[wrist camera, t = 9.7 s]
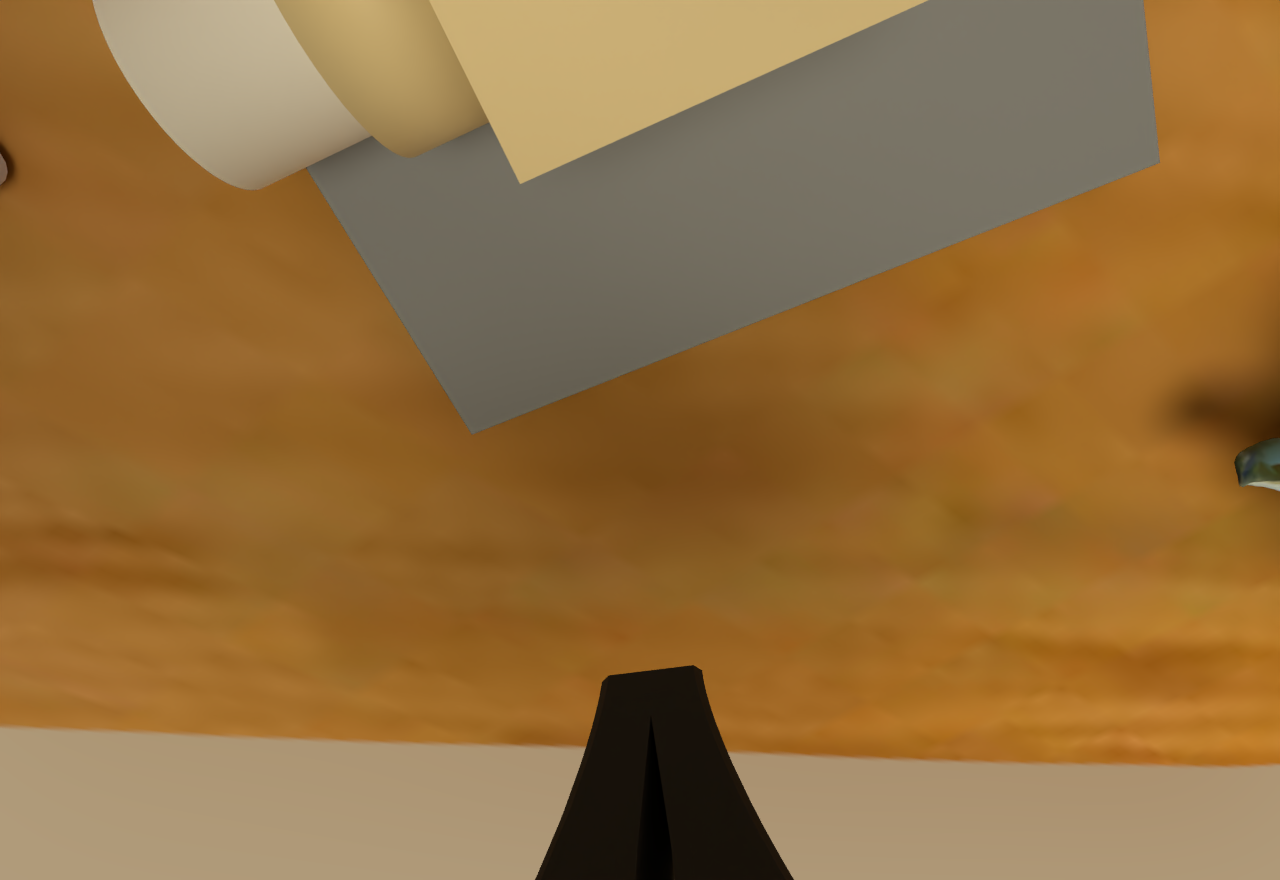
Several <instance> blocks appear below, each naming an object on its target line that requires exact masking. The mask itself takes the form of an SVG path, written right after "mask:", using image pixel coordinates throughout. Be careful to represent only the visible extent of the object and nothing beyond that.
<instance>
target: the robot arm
mask: <svg viewBox="0 0 1280 880" xmlns="http://www.w3.org/2000/svg"><path fill="white" fill-rule="evenodd" d="M7 173H8V171H7V166H6V162H5V160H4V159H3V157H2V155H1V154H0V185H1V184H2V183H3V182H4V181H5V180H6V177H7ZM535 880H794V879H793V877H792V876H791V874H790V873H789V871H788V869H787V867H786V866H785V864H784V862H783V860H782V859H781V857H780V855H779V853H778V852H777V850H776V848H775V846H774V844H773V843H772V841H771V839H770V837H769V835H768V834H767V832H766V830H765V829H764V827H763V825H762V823H761V821H760V819H759V817H758V815H757V813H756V811H755V809H754V807H753V806H752V803H751V801H750V800H749V797H748V795H747V793H746V791H745V789H744V787H743V785H742V783H741V781H740V778H739V776H738V774H737V772H736V770H735V768H734V766H733V764H732V762H731V759H730V757H729V755H728V752H727V750H726V748H725V745H724V743H723V740H722V738H721V735H720V732H719V730H718V727H717V725H716V722H715V719H714V716H713V713H712V710H711V707H710V704H709V701H708V697H707V693H706V689H705V685H704V681H703V674H702V670H700V669H699V668H697V667H695V666H694V665H692V666H683V667H675V668H667V669H659V670H651V671H642V672H634V673H626V674H618V675H610V676H608V677H607V678H606V679H605V680H604V681H603V682H602V686H601V691H600V697H599V702H598V706H597V710H596V714H595V718H594V722H593V726H592V729H591V733H590V736H589V739H588V743H587V746H586V749H585V752H584V756H583V759H582V762H581V765H580V768H579V771H578V773H577V776H576V779H575V782H574V785H573V787H572V790H571V793H570V796H569V799H568V801H567V804H566V807H565V810H564V813H563V815H562V817H561V820H560V823H559V825H558V827H557V830H556V832H555V834H554V837H553V839H552V842H551V844H550V847H549V849H548V851H547V854H546V856H545V858H544V860H543V863H542V865H541V867H540V870H539V872H538V875H537V877H536V879H535Z"/></svg>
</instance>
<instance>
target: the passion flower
mask: <svg viewBox="0 0 1280 880" xmlns="http://www.w3.org/2000/svg"><path fill="white" fill-rule="evenodd" d="M1234 463H1235V468H1236V472H1237V475H1238V482H1239V485H1240V486H1242V487H1244V486H1246V485H1252V486H1263V487H1267V488H1271V489H1275V490H1277V491H1280V438H1272V439H1269V440H1265V441H1262V442H1259V443H1257V444H1255V445H1253V446H1251V447H1248V448H1246V449H1245V450H1243V451H1241V452H1240V453H1239V454H1238V455H1237V457H1236V459H1235V462H1234Z"/></svg>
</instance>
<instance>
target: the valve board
mask: <svg viewBox="0 0 1280 880" xmlns="http://www.w3.org/2000/svg"><path fill="white" fill-rule="evenodd" d="M93 5H94V9H95V13H96V16H97V19H98V22H99V25H100V27H101V30H102V32H103V35H104V37H105V39H106V42H107V44H108V46H109V48H110V50H111V52H112V54H113V56H114V58H115V60H116V62H117V64H118V66H119V67H120V69H121V71H122V72H123V74H124V76H125V78H126V79H127V81H128V82H129V84H130V86H131V87H132V89H133V90H134V92H135V93H136V95H137V96H138V98H139V99H140V100H141V102H142V103H143V104H144V106H145V107H146V109H147V110H148V111H149V113H150V114H151V115H152V116H153V118H154V119H155V120H156V121H157V122H158V124H159V125H160V126H161V127H162V129H163V130H164V131H165V132H166V133H167V134H168V135H169V136H170V137H171V138H172V140H173V141H174V142H175V143H176V144H177V145H178V146H179V147H180V148H181V149H182V150H183V151H184V152H185V153H187V154H188V155H189V156H190V157H191V158H192V159H193V160H194V161H196V162H197V163H198V164H199V165H200V166H202V167H203V168H204V169H206V170H207V171H208V172H210V173H211V174H213V175H214V176H216V177H217V178H219V179H221V180H222V181H224V182H226V183H228V184H230V185H233V186H235V187H238V188H241V189H245V190H258V189H262V188H264V187H266V186H268V185H270V184H272V183H274V182H276V181H278V180H281V179H283V178H285V177H287V176H289V175H291V174H293V173H295V172H297V171H299V170H301V169H304V168H306V169H307V170H308V172H309V173H310V175H311V177H312V178H313V180H314V181H315V183H316V185H317V186H318V188H319V189H320V191H321V193H322V194H323V196H324V197H325V199H326V201H327V202H328V204H329V206H330V207H331V209H332V210H333V212H334V214H335V215H336V217H337V218H338V220H339V222H340V223H341V225H342V226H343V228H344V230H345V231H346V233H347V234H348V236H349V238H350V239H351V241H352V243H353V244H354V246H355V247H356V249H357V251H358V252H359V254H360V255H361V257H362V259H363V260H364V262H365V263H366V265H367V267H368V268H369V270H370V271H371V273H372V275H373V276H374V278H375V280H376V281H377V283H378V284H379V286H380V288H381V289H382V291H383V292H384V294H385V296H386V297H387V299H388V300H389V302H390V304H391V305H392V307H393V308H394V310H395V312H396V313H397V315H398V317H399V318H400V320H401V321H402V323H403V325H404V326H405V328H406V329H407V331H408V333H409V334H410V336H411V337H412V339H413V341H414V342H415V344H416V346H417V347H418V349H419V350H420V352H421V354H422V355H423V357H424V358H425V360H426V362H427V363H428V365H429V366H430V368H431V370H432V371H433V373H434V374H435V376H436V378H437V379H438V381H439V383H440V384H441V386H442V387H443V389H444V391H445V392H446V394H447V395H448V397H449V399H450V400H451V402H452V403H453V405H454V407H455V408H456V410H457V411H458V413H459V415H460V416H461V418H462V420H463V421H464V423H465V424H466V426H467V428H468V429H469V431H470V432H471V434H475V433H477V432H480V431H482V430H485V429H487V428H490V427H492V426H495V425H497V424H500V423H502V422H505V421H507V420H510V419H513V418H515V417H518V416H520V415H523V414H525V413H528V412H530V411H533V410H535V409H538V408H540V407H543V406H545V405H548V404H551V403H553V402H556V401H558V400H561V399H563V398H566V397H568V396H571V395H573V394H576V393H578V392H581V391H583V390H586V389H588V388H591V387H594V386H596V385H599V384H601V383H604V382H606V381H609V380H611V379H614V378H616V377H619V376H621V375H624V374H626V373H629V372H631V371H634V370H637V369H639V368H642V367H644V366H647V365H649V364H652V363H654V362H657V361H659V360H662V359H664V358H667V357H669V356H672V355H674V354H677V353H680V352H682V351H685V350H687V349H690V348H692V347H695V346H697V345H700V344H702V343H705V342H707V341H710V340H712V339H715V338H718V337H720V336H723V335H725V334H728V333H730V332H733V331H735V330H738V329H740V328H743V327H745V326H748V325H750V324H753V323H755V322H758V321H761V320H763V319H766V318H768V317H771V316H773V315H776V314H778V313H781V312H783V311H786V310H788V309H791V308H793V307H796V306H798V305H801V304H804V303H806V302H809V301H811V300H814V299H816V298H819V297H821V296H824V295H826V294H829V293H831V292H834V291H836V290H839V289H841V288H844V287H847V286H849V285H852V284H854V283H857V282H859V281H862V280H864V279H867V278H869V277H872V276H874V275H877V274H879V273H882V272H885V271H887V270H890V269H892V268H895V267H897V266H900V265H902V264H905V263H907V262H910V261H912V260H915V259H917V258H920V257H922V256H925V255H928V254H930V253H933V252H935V251H938V250H940V249H943V248H945V247H948V246H950V245H953V244H955V243H958V242H960V241H963V240H965V239H968V238H971V237H973V236H976V235H978V234H981V233H983V232H986V231H988V230H991V229H993V228H996V227H998V226H1001V225H1003V224H1006V223H1008V222H1011V221H1014V220H1016V219H1019V218H1021V217H1024V216H1026V215H1029V214H1031V213H1034V212H1036V211H1039V210H1041V209H1044V208H1046V207H1049V206H1052V205H1054V204H1057V203H1059V202H1062V201H1064V200H1067V199H1069V198H1072V197H1074V196H1077V195H1079V194H1082V193H1084V192H1087V191H1089V190H1092V189H1095V188H1097V187H1100V186H1102V185H1105V184H1107V183H1110V182H1112V181H1115V180H1117V179H1120V178H1122V177H1125V176H1127V175H1130V174H1132V173H1135V172H1138V171H1140V170H1143V169H1145V168H1148V167H1150V166H1153V165H1155V164H1158V163H1160V159H1159V149H1158V140H1157V130H1156V120H1155V110H1154V100H1153V91H1152V81H1151V71H1150V61H1149V51H1148V42H1147V32H1146V22H1145V12H1144V3H1143V0H93Z"/></svg>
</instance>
